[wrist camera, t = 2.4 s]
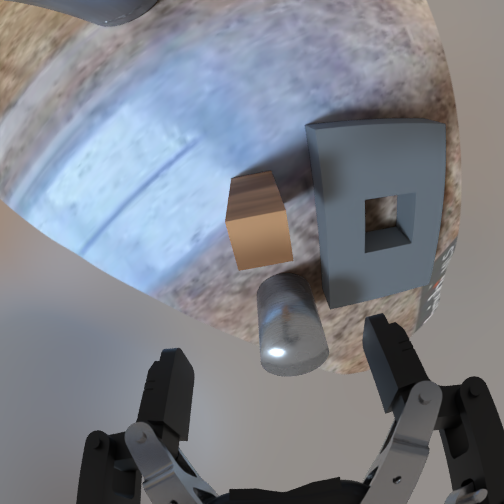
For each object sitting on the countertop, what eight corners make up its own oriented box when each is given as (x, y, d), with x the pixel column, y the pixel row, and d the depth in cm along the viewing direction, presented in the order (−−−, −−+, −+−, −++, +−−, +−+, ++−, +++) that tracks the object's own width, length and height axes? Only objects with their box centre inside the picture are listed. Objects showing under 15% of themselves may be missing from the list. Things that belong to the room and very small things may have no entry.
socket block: (304, 125, 23) (315, 129, 20) (423, 118, 22) (445, 123, 19) (322, 287, 34) (329, 309, 31) (415, 266, 33) (429, 283, 29)
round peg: (251, 278, 33) (254, 343, 24) (309, 268, 32) (329, 330, 24) (261, 318, 36) (266, 380, 28) (312, 309, 36) (328, 369, 27)
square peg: (231, 178, 26) (225, 221, 18) (271, 170, 26) (285, 210, 17) (239, 214, 28) (238, 270, 20) (277, 207, 28) (293, 260, 20)
